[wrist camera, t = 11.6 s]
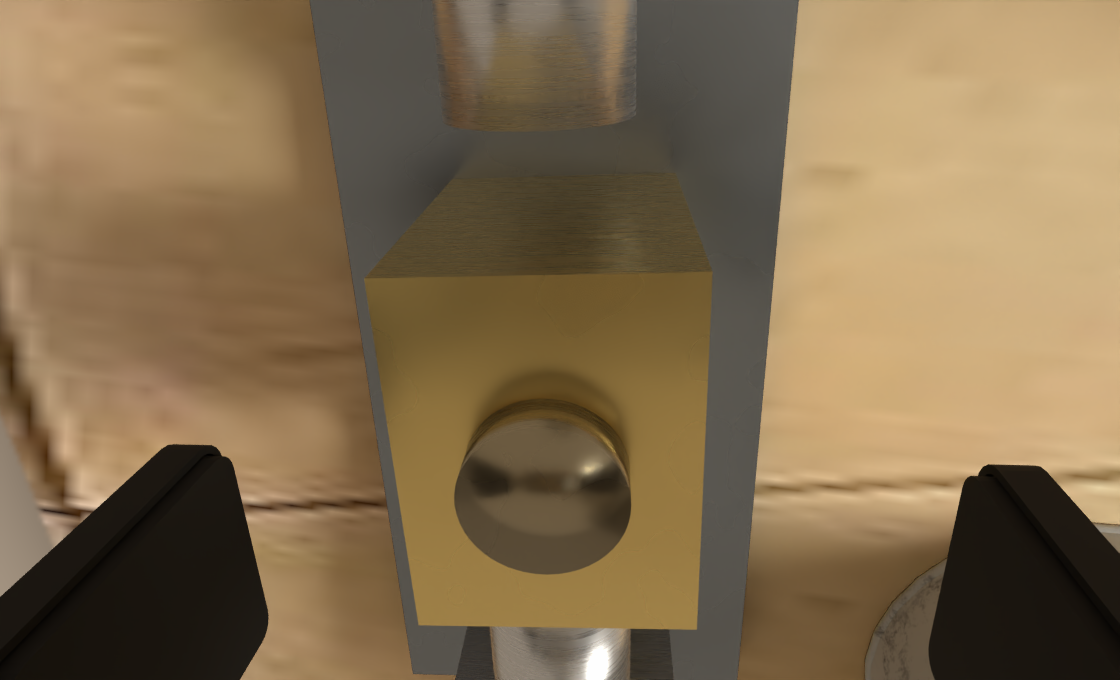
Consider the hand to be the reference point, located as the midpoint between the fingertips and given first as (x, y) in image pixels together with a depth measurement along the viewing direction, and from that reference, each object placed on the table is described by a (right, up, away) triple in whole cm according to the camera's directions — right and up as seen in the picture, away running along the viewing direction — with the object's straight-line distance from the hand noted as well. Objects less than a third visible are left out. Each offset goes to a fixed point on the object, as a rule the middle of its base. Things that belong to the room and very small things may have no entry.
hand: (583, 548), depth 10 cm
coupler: (0, +3, +7) cm, 7 cm away
